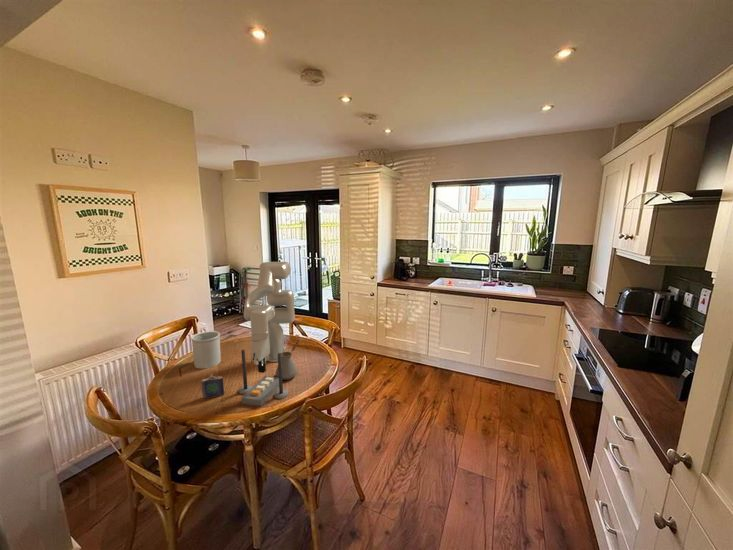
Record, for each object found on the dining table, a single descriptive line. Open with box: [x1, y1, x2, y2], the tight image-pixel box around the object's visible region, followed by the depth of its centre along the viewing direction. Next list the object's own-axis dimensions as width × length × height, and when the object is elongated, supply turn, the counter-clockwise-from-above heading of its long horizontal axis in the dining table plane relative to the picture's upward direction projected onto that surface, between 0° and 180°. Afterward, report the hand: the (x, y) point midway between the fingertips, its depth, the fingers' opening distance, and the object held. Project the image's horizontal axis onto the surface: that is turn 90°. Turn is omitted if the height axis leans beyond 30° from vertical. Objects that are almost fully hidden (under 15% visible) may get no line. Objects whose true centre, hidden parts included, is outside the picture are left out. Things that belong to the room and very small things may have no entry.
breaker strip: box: [240, 375, 279, 407], centre depth 141 cm, size 20×10×4 cm, turn 169°
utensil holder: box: [190, 330, 221, 369], centre depth 170 cm, size 15×15×18 cm
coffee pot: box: [274, 339, 300, 381], centre depth 160 cm, size 21×12×15 cm, turn 166°
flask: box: [200, 373, 225, 400], centre depth 138 cm, size 9×3×11 cm, turn 109°
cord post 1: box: [238, 349, 253, 395], centre depth 141 cm, size 6×6×21 cm
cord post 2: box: [273, 353, 289, 400], centre depth 138 cm, size 6×6×21 cm
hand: (262, 371), depth 139 cm, fingers closed
